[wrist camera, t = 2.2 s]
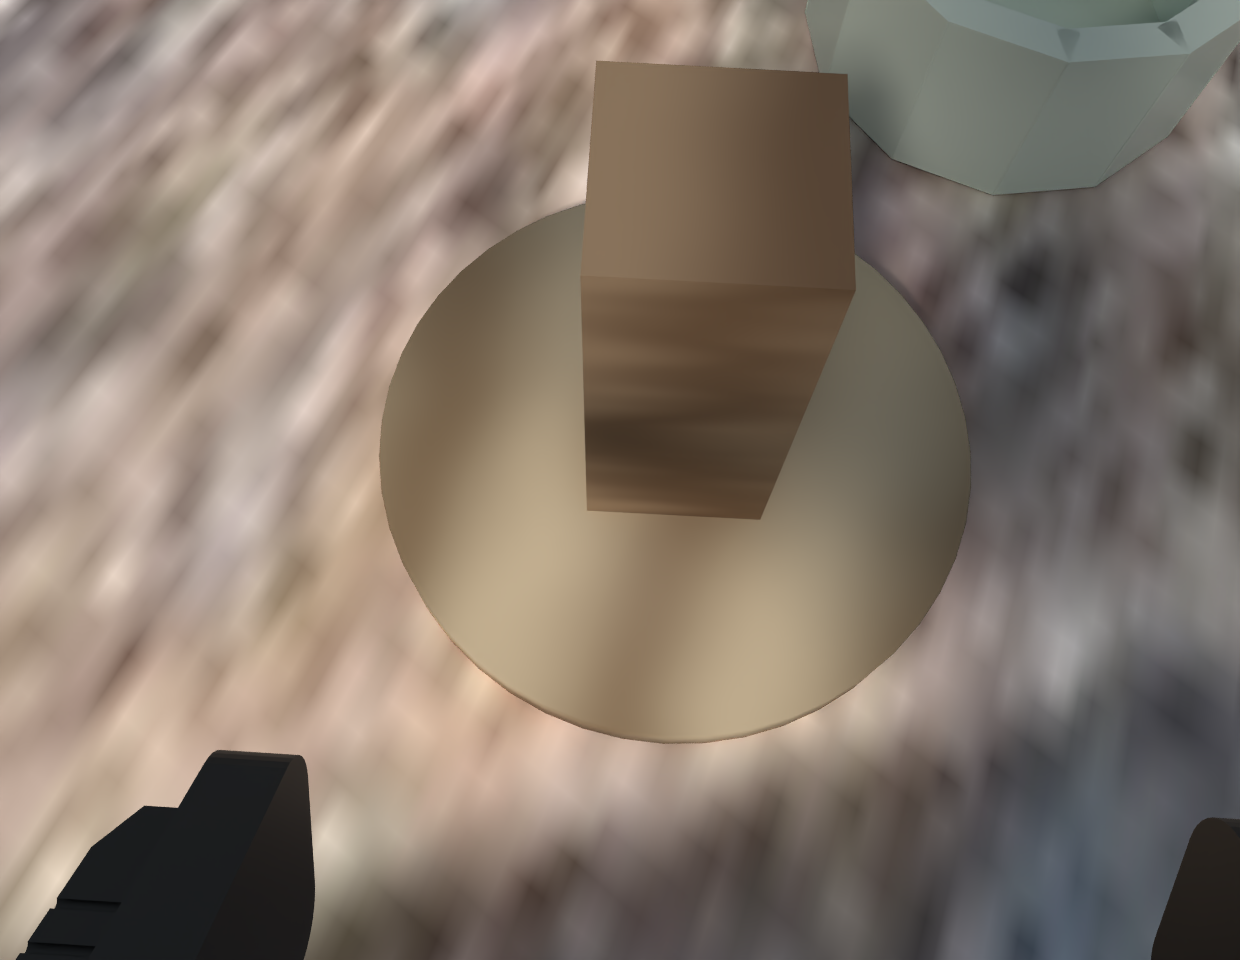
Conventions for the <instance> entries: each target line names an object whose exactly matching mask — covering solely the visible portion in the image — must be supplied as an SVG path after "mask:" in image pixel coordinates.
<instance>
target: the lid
mask: <svg viewBox="0 0 1240 960" xmlns="http://www.w3.org/2000/svg"><path fill="white" fill-rule="evenodd" d="M379 460H380V474H381V489H382V496H383V500H384V505H385V509H386V514H387V519H388V523H389V528H390V531H391V533H392V536H393V539H394V541H395V544H396V547H397V549H398V552H399V555H400V558H401V560H402V563H403V565H404V567H405V569H406V570H407V572H408V574H409V576H410V578H411V580H412V581H413V583H414V585H415V587H416V589H417V591H418V592H419V594H420V596H421V598H422V600H423V601H424V603H425V605H426V607H427V608H428V610H429V612H430V613H431V614H432V616H433V617H434V618H435V620H436V621H437V622H438V624H439V625H440V626H441V628H442V629H443V630H444V632H445V633H446V634H447V636H448V637H449V638H450V640H451V641H452V642H453V643H454V644H455V645H456V646H457V647H458V648H459V649H460V650H461V651H462V652H463V653H464V654H465V655H466V656H467V657H468V658H469V659H470V660H471V661H472V662H473V663H474V664H475V665H476V666H477V667H478V668H479V669H480V670H481V671H482V672H484V673H485V674H486V675H488V676H489V677H490V678H491V679H493V680H494V681H495V682H497V683H498V684H499V685H501V686H502V687H503V688H504V689H506V690H507V691H508V692H510V693H511V694H513V695H515V696H516V697H518V698H520V699H522V700H523V701H525V702H527V703H529V704H530V705H532V706H534V707H536V708H537V709H539V710H541V711H543V712H544V713H546V714H549V715H551V716H554V717H556V718H559V719H561V720H564V721H566V722H568V723H571V724H573V725H576V726H578V727H581V728H583V729H587V730H591V731H595V732H599V733H603V734H607V735H610V736H614V737H618V738H622V739H629V740H638V741H646V742H654V743H662V744H673V743H708V742H715V741H722V740H729V739H735V738H742V737H747V736H750V735H754V734H757V733H760V732H764V731H767V730H771V729H774V728H778V727H781V726H784V725H786V724H788V723H791V722H793V721H795V720H797V719H799V718H802V717H804V716H806V715H808V714H811V713H813V712H815V711H817V710H819V709H821V708H822V707H824V706H826V705H827V704H829V703H830V702H832V701H834V700H835V699H837V698H838V697H840V696H842V695H843V694H845V693H846V692H848V691H849V690H851V689H852V688H854V687H855V686H856V685H857V684H858V683H859V682H861V681H862V680H863V679H864V678H865V677H867V676H868V675H869V674H870V673H871V672H872V671H874V670H875V669H876V668H877V667H878V666H880V665H881V664H882V663H883V662H884V661H885V660H886V659H888V658H889V657H890V656H891V655H892V654H893V653H894V652H895V651H896V650H897V649H898V648H899V647H900V646H901V644H902V643H903V642H904V641H905V640H906V639H907V638H908V637H909V635H910V634H911V633H912V632H913V631H914V630H915V629H916V627H917V626H918V625H919V624H920V623H921V621H922V620H923V618H924V616H925V615H926V613H927V612H928V610H929V609H930V607H931V606H932V604H933V603H934V601H935V599H936V598H937V596H938V595H939V593H940V592H941V589H942V587H943V585H944V583H945V581H946V579H947V576H948V574H949V572H950V570H951V568H952V565H953V563H954V561H955V559H956V556H957V552H958V549H959V545H960V542H961V538H962V535H963V531H964V528H965V525H966V519H967V511H968V504H969V497H970V489H971V464H970V446H969V440H968V433H967V426H966V420H965V415H964V412H963V408H962V405H961V402H960V398H959V395H958V391H957V388H956V385H955V382H954V380H953V378H952V375H951V373H950V371H949V369H948V366H947V364H946V362H945V360H944V358H943V355H942V353H941V351H940V349H939V348H938V346H937V344H936V343H935V341H934V340H933V338H932V336H931V335H930V333H929V331H928V330H927V328H926V327H925V325H924V323H923V322H922V320H921V319H920V318H919V317H918V315H917V314H916V313H915V312H914V310H913V309H912V308H911V307H910V305H909V304H908V303H907V302H906V300H905V299H904V298H903V297H902V295H901V294H900V293H899V292H898V291H897V290H896V289H895V288H894V287H893V286H892V285H891V284H890V283H889V282H887V281H886V280H885V279H884V278H883V277H882V276H881V275H880V274H879V273H878V272H877V271H876V270H875V269H874V268H873V267H871V266H870V265H869V264H867V263H866V262H865V261H863V260H862V259H861V258H860V257H858V256H857V255H856V254H855V251H854V226H853V201H852V175H851V150H850V125H849V99H848V74H836V73H817V72H799V71H780V70H761V69H742V68H723V67H704V66H685V65H667V64H648V63H629V62H610V61H596V72H595V85H594V99H593V112H592V126H591V139H590V153H589V166H588V179H587V193H586V204H582V205H579V206H576V207H573V208H570V209H567V210H564V211H561V212H558V213H556V214H553V215H550V216H547V217H545V218H543V219H541V220H539V221H537V222H535V223H533V224H531V225H528V226H526V227H524V228H522V229H520V230H518V231H516V232H515V233H513V234H511V235H510V236H508V237H507V238H505V239H504V240H502V241H500V242H499V243H497V244H496V245H494V246H493V247H491V248H489V249H488V250H487V251H485V252H484V253H483V254H482V255H481V256H479V257H478V258H477V259H476V260H474V261H473V262H472V263H471V264H470V265H468V266H467V267H466V268H465V269H464V270H462V271H461V272H460V273H459V274H458V275H457V276H456V278H455V279H454V280H453V281H452V282H451V283H450V284H449V285H448V286H447V287H446V288H445V289H444V290H443V291H442V292H441V293H440V294H439V295H438V297H437V298H436V299H435V301H434V302H433V304H432V305H431V306H430V308H429V309H428V311H427V312H426V313H425V315H424V316H423V317H422V319H421V320H420V322H419V323H418V324H417V326H416V328H415V330H414V332H413V334H412V336H411V337H410V339H409V341H408V343H407V345H406V347H405V349H404V350H403V352H402V354H401V357H400V360H399V362H398V365H397V368H396V370H395V373H394V376H393V378H392V381H391V384H390V386H389V391H388V395H387V400H386V404H385V409H384V413H383V418H382V426H381V439H380V453H379Z"/></svg>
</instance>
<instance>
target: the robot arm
mask: <svg viewBox="0 0 1240 960" xmlns="http://www.w3.org/2000/svg"><path fill="white" fill-rule="evenodd" d="M314 901H315V878H314V862H313V847H312V831H311V816H310V801H309V785H308V773H307V767H306V763H305V760H304V758H303V757H302V756H300V755H289V754H274V753H258V752H243V751H228V750H217V751H215V752H213V753H212V754H211V755H210V756H209V757H208V759H207V760H206V762H205V763H204V765H203V767H202V768H201V770H200V772H199V773H198V775H197V777H196V778H195V780H194V782H193V783H192V785H191V787H190V788H189V790H188V792H187V793H186V795H185V797H184V799H183V800H182V802H181V804H180V805H179V807H178V808H171V807H156V806H143V807H142V808H141V809H139V810H138V811H137V812H136V813H134V814H133V815H132V816H131V817H129V818H128V819H127V820H125V821H124V822H123V823H122V824H120V825H119V826H118V827H116V828H115V829H114V830H113V831H111V832H110V833H109V834H107V835H106V836H105V837H104V838H102V839H101V840H100V841H99V842H97V843H96V844H95V845H93V846H92V847H91V848H90V850H89V851H88V853H87V854H86V856H85V857H84V859H83V860H82V862H81V863H80V865H79V866H78V868H77V869H76V871H75V872H74V874H73V875H72V877H71V878H70V880H69V881H68V883H67V884H66V886H65V887H64V889H63V890H62V891H61V893H60V894H59V896H58V897H57V904H56V907H55V909H49V911H48V912H47V914H46V915H45V917H44V918H43V920H42V921H41V923H40V924H39V926H38V927H37V929H36V930H35V932H34V933H33V935H32V936H31V938H30V939H29V941H28V947H27V950H26V952H25V953H20V954H19V955H18V957H17V958H16V960H303V959H304V956H305V953H306V949H307V945H308V941H309V937H310V932H311V926H312V920H313V912H314ZM1151 960H1240V819H1227V818H1207V819H1205V820H1203V821H1201V822H1200V823H1199V824H1198V825H1197V826H1196V828H1195V829H1194V831H1193V833H1192V835H1191V838H1190V840H1189V843H1188V846H1187V849H1186V852H1185V854H1184V857H1183V860H1182V863H1181V866H1180V869H1179V872H1178V874H1177V877H1176V880H1175V883H1174V886H1173V889H1172V891H1171V894H1170V897H1169V900H1168V903H1167V906H1166V908H1165V911H1164V914H1163V917H1162V920H1161V923H1160V925H1159V928H1158V931H1157V934H1156V937H1155V940H1154V944H1153V948H1152V955H1151Z"/></svg>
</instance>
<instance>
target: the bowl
mask: <svg viewBox="0 0 1240 960" xmlns="http://www.w3.org/2000/svg"><path fill="white" fill-rule="evenodd" d="M805 14H806V18H807V23H808V27H809V31H810V35H811V40H812V44H813V48H814V52H815V57H816V61H817V65H818V69H819V73H836V74H848V99H849V117H850V118H851V119H852V120H853V121H854V122H855V123H856V124H857V125H858V126H859V127H860V128H861V129H862V130H863V131H864V132H865V133H866V134H867V135H868V136H869V137H870V138H871V139H872V140H874V141H875V142H876V143H877V144H878V145H879V146H880V147H881V148H882V149H883V150H884V151H885V152H886V153H887V154H888V155H889V156H890V157H891V159H894V160H897V161H899V162H902V163H905V164H908V165H911V166H913V167H916V168H919V169H922V170H924V171H927V172H930V173H933V174H936V175H938V176H941V177H944V178H947V179H949V180H952V181H955V182H958V183H961V184H963V185H966V186H969V187H972V188H974V189H977V190H980V191H983V192H986V193H988V194H991V195H1000V194H1012V193H1025V192H1037V191H1050V190H1062V189H1074V188H1087V187H1096V186H1097V185H1098V184H1100V183H1101V182H1103V181H1104V180H1106V179H1107V178H1108V177H1110V176H1111V175H1113V174H1114V173H1116V172H1117V171H1119V170H1120V169H1122V168H1123V167H1124V166H1126V165H1127V164H1129V163H1130V162H1132V161H1133V160H1135V159H1136V158H1137V157H1139V156H1140V155H1142V154H1143V153H1145V152H1146V151H1148V150H1149V149H1150V148H1152V147H1153V146H1155V145H1156V144H1158V143H1159V142H1161V141H1162V140H1163V139H1165V138H1167V136H1168V135H1169V134H1170V133H1171V131H1172V130H1173V129H1174V127H1175V126H1176V125H1177V123H1178V122H1179V121H1180V119H1181V118H1182V117H1183V115H1184V114H1185V113H1186V111H1187V110H1188V109H1189V107H1190V106H1191V105H1192V104H1193V102H1194V101H1195V100H1196V98H1197V97H1198V96H1199V94H1200V93H1201V92H1202V90H1203V89H1204V88H1205V86H1206V85H1207V84H1208V82H1209V81H1210V80H1211V78H1212V77H1213V76H1214V75H1215V73H1216V72H1217V71H1218V69H1219V68H1220V67H1221V65H1222V64H1223V63H1224V61H1225V60H1226V59H1227V57H1228V56H1229V55H1230V53H1231V52H1232V51H1233V49H1234V48H1235V47H1236V46H1237V44H1238V43H1239V42H1240V0H808V2H807V6H806V10H805Z"/></svg>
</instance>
